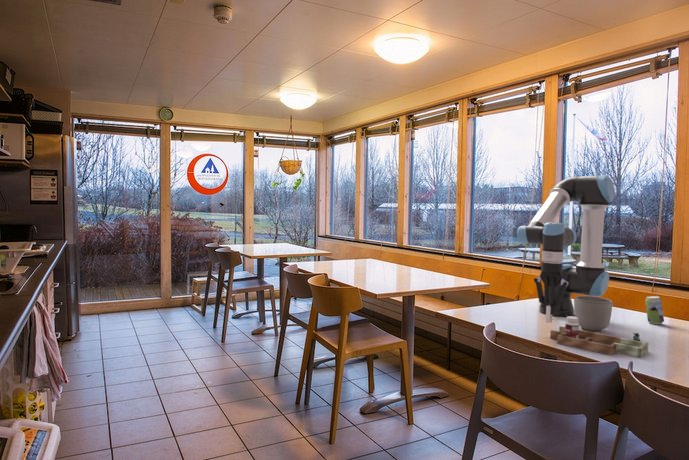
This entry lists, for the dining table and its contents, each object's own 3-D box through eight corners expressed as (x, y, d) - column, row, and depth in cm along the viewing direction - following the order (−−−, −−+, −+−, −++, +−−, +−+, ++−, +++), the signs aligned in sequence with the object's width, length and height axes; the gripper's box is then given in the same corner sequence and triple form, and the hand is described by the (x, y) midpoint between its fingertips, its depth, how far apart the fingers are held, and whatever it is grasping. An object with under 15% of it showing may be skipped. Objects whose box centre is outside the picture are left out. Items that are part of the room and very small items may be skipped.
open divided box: (545, 340, 176) (545, 332, 176) (559, 333, 187) (560, 326, 187) (637, 360, 156) (637, 351, 155) (647, 351, 166) (648, 342, 166)
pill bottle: (561, 337, 182) (563, 316, 181) (573, 337, 182) (574, 316, 182) (568, 341, 177) (569, 319, 176) (580, 341, 177) (582, 319, 177)
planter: (565, 327, 197) (566, 296, 196) (588, 324, 202) (590, 295, 202) (594, 336, 184) (596, 303, 184) (618, 333, 190) (620, 301, 189)
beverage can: (666, 325, 204) (668, 298, 204) (647, 324, 206) (649, 297, 205) (659, 322, 210) (661, 295, 210) (641, 321, 212) (643, 294, 211)
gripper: (531, 261, 186) (528, 320, 187) (566, 264, 177) (562, 326, 178) (539, 260, 191) (536, 317, 192) (573, 263, 182) (569, 323, 183)
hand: (548, 322), depth 185 cm, fingers closed
